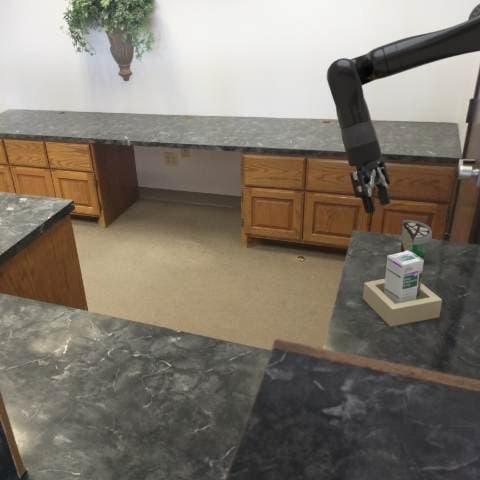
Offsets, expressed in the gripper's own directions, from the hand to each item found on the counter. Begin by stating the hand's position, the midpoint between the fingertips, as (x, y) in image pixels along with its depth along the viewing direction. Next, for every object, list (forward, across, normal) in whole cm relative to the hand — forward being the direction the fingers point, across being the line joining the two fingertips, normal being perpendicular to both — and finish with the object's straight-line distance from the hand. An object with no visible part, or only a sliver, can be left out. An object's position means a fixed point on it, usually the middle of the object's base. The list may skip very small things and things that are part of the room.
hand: (378, 208), depth 122 cm
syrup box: (+26, +1, +2) cm, 26 cm away
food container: (+21, +27, +6) cm, 35 cm away
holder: (+26, +1, +2) cm, 26 cm away
